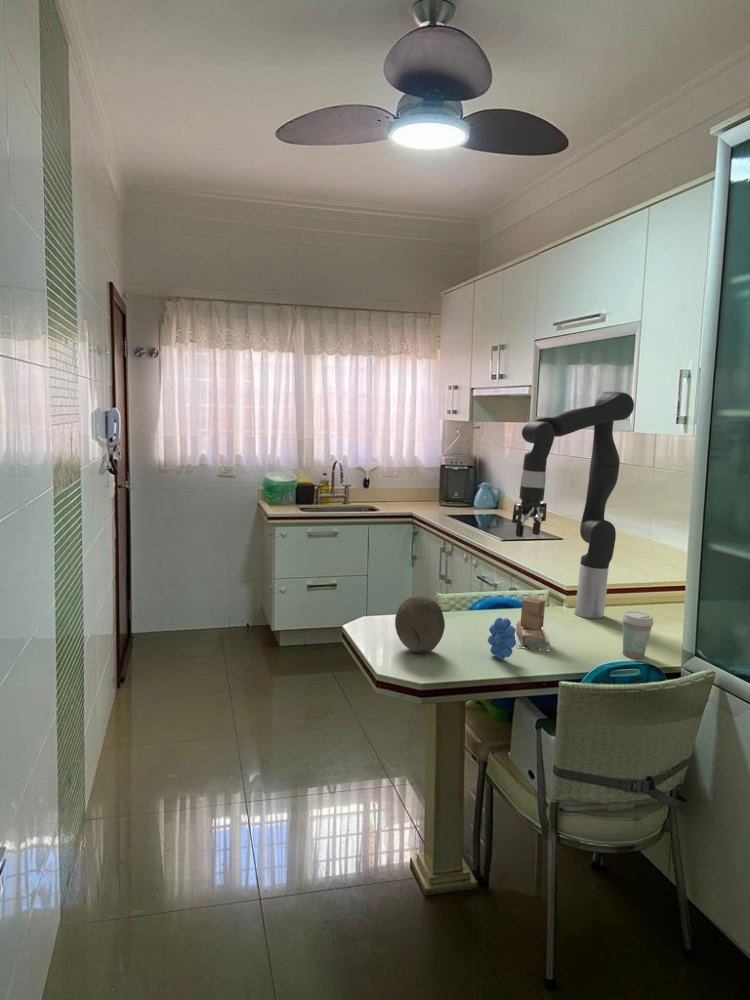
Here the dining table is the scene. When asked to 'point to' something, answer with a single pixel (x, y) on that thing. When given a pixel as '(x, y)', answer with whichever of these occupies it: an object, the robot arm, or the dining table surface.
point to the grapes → (502, 638)
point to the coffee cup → (636, 633)
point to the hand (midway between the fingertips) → (527, 535)
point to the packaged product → (532, 638)
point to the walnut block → (532, 613)
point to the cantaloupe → (420, 624)
